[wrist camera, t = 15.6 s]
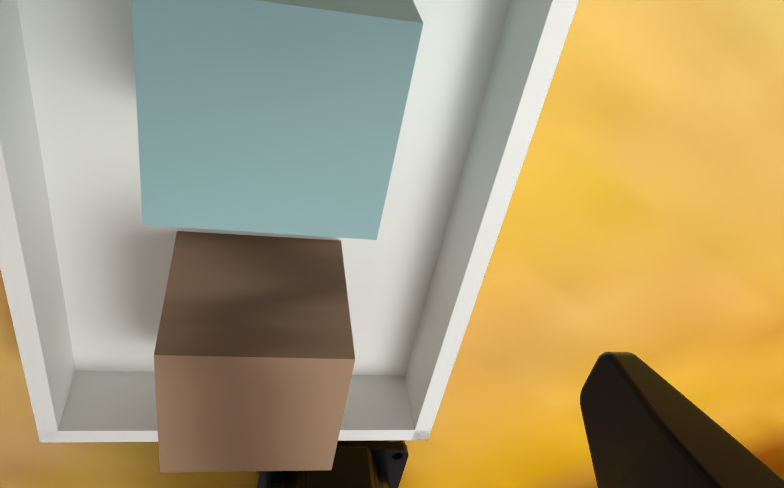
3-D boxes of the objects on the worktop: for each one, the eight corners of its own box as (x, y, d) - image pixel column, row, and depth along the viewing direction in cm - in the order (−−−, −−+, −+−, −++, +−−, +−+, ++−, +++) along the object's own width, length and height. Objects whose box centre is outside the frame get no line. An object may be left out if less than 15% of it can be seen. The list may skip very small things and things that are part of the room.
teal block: (387, -55, 16) (423, 23, 12) (356, 130, 19) (376, 240, 15) (167, -91, 15) (130, -17, 11) (171, 112, 18) (142, 225, 14)
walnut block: (341, 240, 21) (355, 359, 18) (322, 348, 24) (331, 470, 21) (176, 231, 20) (153, 355, 16) (178, 345, 23) (159, 472, 20)
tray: (412, 366, 27) (427, 440, 25) (66, 360, 24) (39, 442, 22) (556, -129, 16) (611, -94, 14) (-36, -239, 14) (-113, -224, 11)
